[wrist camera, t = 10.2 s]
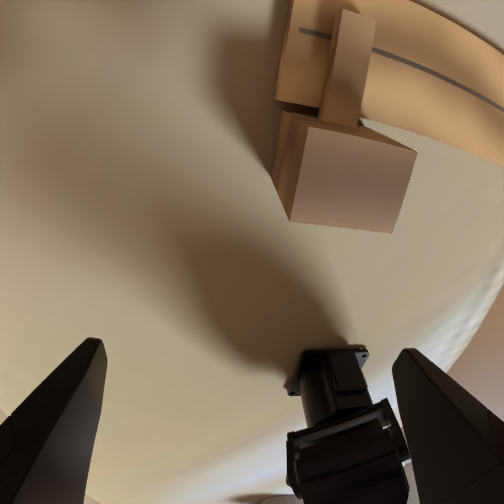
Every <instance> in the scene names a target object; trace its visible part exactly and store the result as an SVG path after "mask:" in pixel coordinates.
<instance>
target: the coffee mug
mask: <svg viewBox="0 0 504 504" xmlns="http://www.w3.org/2000/svg"><path fill="white" fill-rule="evenodd" d="M259 504H304V503H303V500H299V499H298V498H297V497H296V496H295V495H283V496H276V497H270V498H266V499H263V500H261V501H259Z"/></svg>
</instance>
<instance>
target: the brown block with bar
mask: <svg viewBox="0 0 504 504" xmlns="http://www.w3.org/2000/svg"><path fill="white" fill-rule="evenodd" d="M375 26H376V19H373V18H370V17H367V16H364V15H361V14H358V13H355V12H352V11H348V10H345V9H341V10H339V11H337V12H336V16H335V22H334V28H333V34H332V40H331V46H330V52H329V58H328V64H327V69H326V75H325V81H324V86H323V92H322V97H321V102H320V108H319V113H318V116H316V115H311V114H306V113H300V112H294V111H288V110H282V112H281V118H280V124H279V130H278V136H277V142H276V148H275V153H274V159H273V165H272V171H271V179H272V181H273V184H274V186H275V188H276V191H277V193H278V195H279V198H280V200H281V202H282V205H283V207H284V210H285V212H286V214H287V217H288V219H289V222H297V223H307V224H316V225H325V226H334V227H342V228H351V229H359V230H367V231H375V232H383V233H391V234H392V232H393V229H394V226H395V223H396V221H397V218H398V215H399V212H400V209H401V206H402V202H403V199H404V196H405V193H406V190H407V186H408V183H409V180H410V176H411V173H412V170H413V166H414V163H415V159H416V155H417V152H416V151H414V150H412V149H411V148H409V147H407V146H405V145H403V144H401V143H399V142H397V141H395V140H393V139H391V138H389V137H387V136H385V135H382V134H380V133H378V132H376V131H374V130H372V129H370V128H367V127H365V126H362V125H358V124H357V123H358V119H359V114H360V109H361V104H362V99H363V94H364V89H365V84H366V79H367V74H368V68H369V63H370V57H371V51H372V45H373V39H374V32H375Z"/></svg>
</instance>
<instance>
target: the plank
mask: <svg viewBox="0 0 504 504" xmlns="http://www.w3.org/2000/svg"><path fill="white" fill-rule="evenodd" d="M341 9H345V10H348V11H352V12H355V13H358V14H361V15H364V16H367V17H370V18H373V19H376V26H375V32H374V39H373V45H372V51H371V57H370V63H369V68H368V74H367V79H366V84H365V89H364V94H363V99H362V104H361V109H360V114H359V117H361V118H365V119H369V120H372V121H376V122H380V123H383V124H387V125H390V126H394V127H397V128H401V129H404V130H407V131H410V132H414V133H417V134H420V135H423V136H426V137H429V138H432V139H435V140H437V141H440V142H443V143H446V144H449V145H451V146H454V147H457V148H459V149H462V150H464V151H467V152H469V153H472V154H474V155H477V156H479V157H482V158H484V159H486V160H489V161H491V162H493V163H496V164H498V165H500V166H502V167H504V55H503V54H502V53H500V52H499V51H497V50H496V49H495V48H493V47H492V46H490V45H489V44H487V43H486V42H484V41H483V40H481V39H480V38H478V37H476V36H475V35H473V34H472V33H470V32H468V31H467V30H465V29H463V28H462V27H460V26H458V25H457V24H455V23H453V22H451V21H450V20H448V19H446V18H444V17H442V16H440V15H438V14H436V13H435V12H433V11H431V10H429V9H427V8H425V7H423V6H420V5H418V4H416V3H414V2H412V1H410V0H290V5H289V11H288V17H287V23H286V29H285V35H284V41H283V47H282V54H281V60H280V66H279V72H278V78H277V84H276V90H275V96H274V99H275V100H277V101H283V102H289V103H295V104H301V105H306V106H311V107H316V108H320V102H321V97H322V92H323V86H324V81H325V75H326V69H327V64H328V58H329V52H330V46H331V40H332V34H333V28H334V22H335V16H336V12H337V11H339V10H341Z"/></svg>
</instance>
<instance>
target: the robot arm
mask: <svg viewBox="0 0 504 504" xmlns="http://www.w3.org/2000/svg"><path fill="white" fill-rule="evenodd" d="M368 356H369V352H368V350H367V349H355V350H312V351H304V352H303V353H302V354H301V356H300V359H299V361H298V364H297V367H296V369H295V372H294V374H293V377H292V379H291V382H290V384H289V387H288V389H287V393H288V395H289V396H301V399H302V404H303V409H304V413H305V418H306V423H307V428H306V429H303V430H299V431H296V432H294V431H292V432H289V433H287V441H286V448H287V476H286V484H287V485H288V486H290V487H291V488H292V489H293V492H294V494H295V496H296V497H297V498H298V499H299V500H303V503H304V504H406V503H407V500H408V493H409V485H408V481H407V478H406V474H405V471H404V467H406V466H408V465H410V464H411V462H412V466H413V471H414V476H415V481H416V485H417V490H418V495H419V501H420V504H504V422H503V421H502V420H501V419H499V418H498V417H497V416H496V415H495V414H493V413H492V412H491V411H490V410H489V409H487V408H486V407H485V406H484V405H483V404H482V403H480V402H479V401H478V400H477V399H476V398H475V397H473V396H472V395H471V394H470V393H469V392H468V391H466V390H465V389H464V388H463V387H462V386H460V385H459V384H458V383H457V382H456V381H454V380H453V379H452V378H451V377H450V376H448V375H447V374H446V373H445V372H444V371H442V370H441V369H440V368H439V367H438V366H436V365H435V364H434V363H433V362H431V361H430V360H429V359H428V358H427V357H425V356H424V355H423V354H422V353H420V352H419V351H418V350H417V349H415V348H405V349H403V350H402V351H401V353H400V354H399V356H398V357H397V359H396V361H395V362H394V364H393V366H392V374H393V380H394V385H395V391H396V397H397V403H398V408H399V413H400V417H401V421H402V425H403V428H404V433H405V437H406V440H407V445H408V447H407V445H406V441H405V439H404V436H403V433H402V431H401V428H400V426H399V424H398V421H397V419H396V417H395V415H394V412H393V410H392V408H391V406H390V403H389V401H388V399H387V398H385V399H383V400H381V401H380V402H378V403H376V404H373V402H372V400H371V397H370V394H369V391H368V389H367V387H368V385H367V383H366V380H365V378H364V375H363V372H362V370H361V369H362V367H363V365H364V363H365V362H366V360H367V358H368ZM106 370H107V356H106V352H105V348H104V344H103V341H102V340H101V339H98V338H92V337H89V338H87V339H85V340H84V341H83V342H82V343H81V344H80V345H79V346H78V347H77V348H76V349H75V350H74V351H73V352H72V353H71V354H70V355H69V356H68V357H67V358H66V359H65V360H64V361H63V362H62V363H61V364H60V365H59V366H58V367H57V368H56V369H55V370H54V371H53V372H52V373H51V374H50V375H49V376H48V377H47V378H46V379H45V380H44V381H43V382H42V383H41V384H40V385H39V386H38V387H37V388H36V389H35V390H34V391H33V392H32V393H31V394H30V395H29V396H28V397H27V398H26V399H25V400H24V401H23V402H22V403H21V404H20V405H19V406H18V407H17V408H16V409H15V410H14V411H13V412H12V413H11V416H8V417H7V419H6V420H5V421H4V422H3V423H2V424H1V425H0V504H83V502H84V496H85V490H86V483H87V478H88V472H89V467H90V461H91V456H92V451H93V446H94V441H95V437H96V432H97V428H98V423H99V419H100V414H101V408H102V400H103V392H104V385H105V377H106ZM386 426H387V428H385V429H383V427H386ZM408 449H409V451H408ZM409 453H410V454H409Z"/></svg>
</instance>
